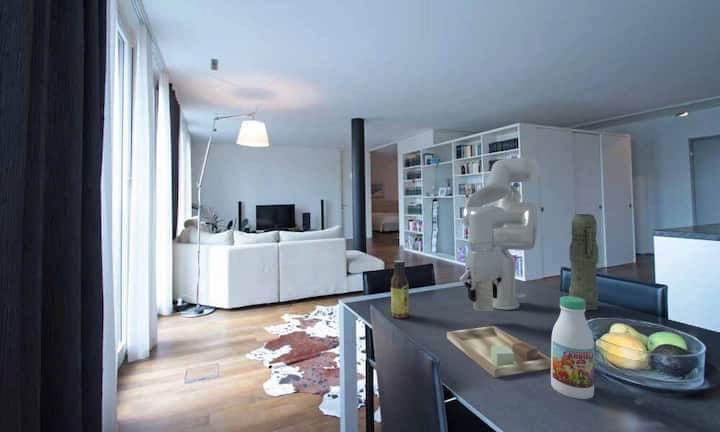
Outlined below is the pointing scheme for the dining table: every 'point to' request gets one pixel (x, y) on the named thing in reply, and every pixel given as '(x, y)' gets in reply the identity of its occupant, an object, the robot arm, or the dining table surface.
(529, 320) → the dining table surface
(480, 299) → the skincare box
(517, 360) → the walnut block
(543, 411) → the dining table surface
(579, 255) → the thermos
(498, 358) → the sage block
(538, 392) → the dining table surface
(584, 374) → the milk bottle
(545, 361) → the tray
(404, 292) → the sauce bottle
